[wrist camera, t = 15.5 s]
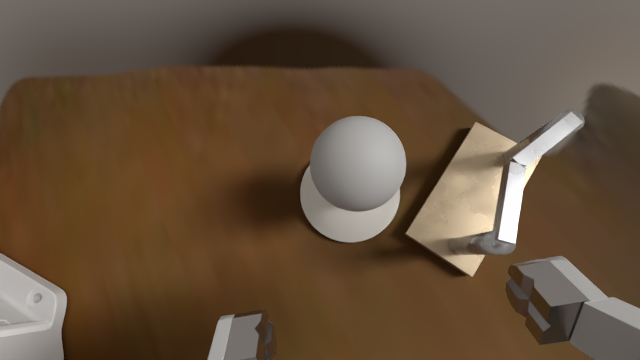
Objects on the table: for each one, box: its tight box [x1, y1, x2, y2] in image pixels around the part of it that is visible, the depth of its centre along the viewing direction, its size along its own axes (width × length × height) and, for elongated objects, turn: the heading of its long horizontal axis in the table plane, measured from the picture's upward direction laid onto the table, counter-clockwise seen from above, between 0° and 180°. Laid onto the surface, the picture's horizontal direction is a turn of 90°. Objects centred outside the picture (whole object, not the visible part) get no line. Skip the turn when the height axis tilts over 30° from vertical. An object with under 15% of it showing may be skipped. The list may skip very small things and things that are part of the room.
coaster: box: [300, 165, 400, 243], centre depth 27 cm, size 9×9×1 cm
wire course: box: [403, 110, 584, 277], centre depth 22 cm, size 6×12×9 cm, turn 145°
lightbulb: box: [310, 116, 406, 212], centre depth 22 cm, size 6×6×11 cm
